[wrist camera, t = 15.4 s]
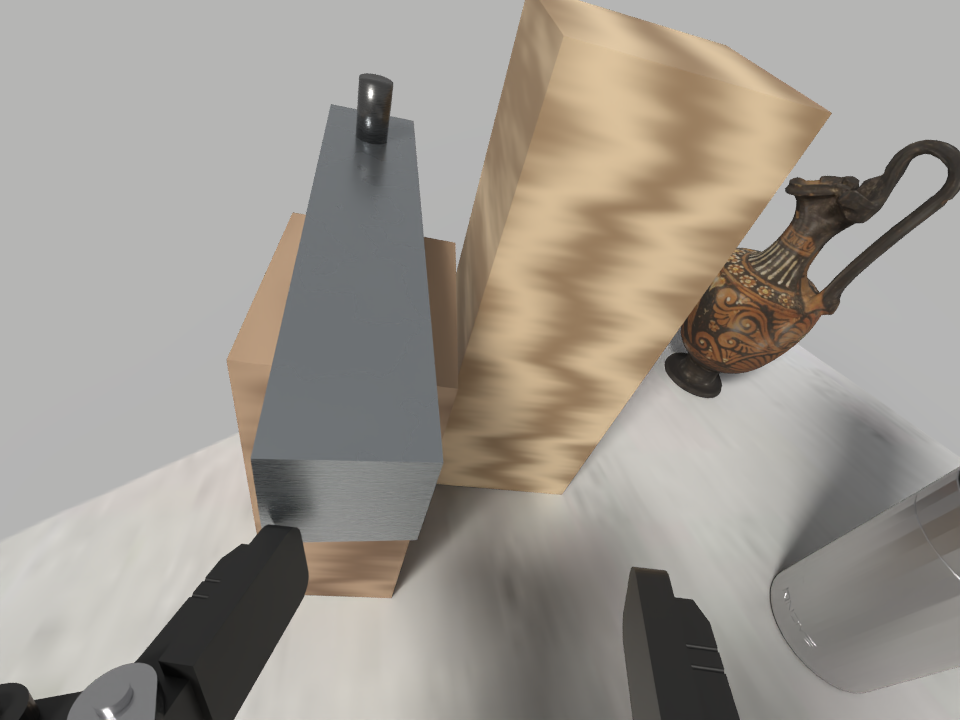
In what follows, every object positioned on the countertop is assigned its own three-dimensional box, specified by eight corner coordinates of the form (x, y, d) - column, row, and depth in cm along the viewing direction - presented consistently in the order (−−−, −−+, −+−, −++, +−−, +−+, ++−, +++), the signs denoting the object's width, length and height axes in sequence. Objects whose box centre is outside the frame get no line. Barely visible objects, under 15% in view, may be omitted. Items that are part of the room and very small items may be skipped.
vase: (682, 334, 64) (856, 93, 44) (760, 400, 58) (1004, 158, 38) (627, 357, 58) (800, 88, 37) (709, 435, 52) (969, 165, 31)
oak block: (544, 397, 50) (726, 45, 28) (561, 494, 42) (832, 113, 20) (428, 383, 47) (528, -15, 26) (424, 483, 40) (563, 35, 18)
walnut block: (401, 470, 40) (455, 242, 25) (391, 598, 33) (458, 389, 18) (300, 461, 38) (292, 212, 23) (267, 593, 31) (226, 359, 16)
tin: (403, 193, 27) (420, 68, 23) (417, 540, 14) (466, 394, 9) (328, 181, 26) (332, 48, 22) (263, 543, 13) (238, 381, 8)
